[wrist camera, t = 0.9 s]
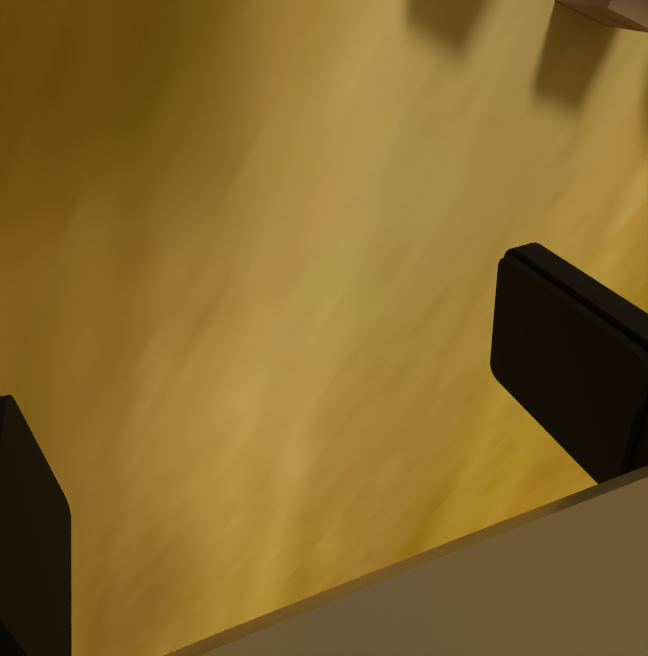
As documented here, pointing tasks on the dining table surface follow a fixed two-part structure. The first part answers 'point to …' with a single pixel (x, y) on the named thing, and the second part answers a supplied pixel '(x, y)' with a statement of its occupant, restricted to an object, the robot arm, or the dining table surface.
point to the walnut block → (613, 12)
